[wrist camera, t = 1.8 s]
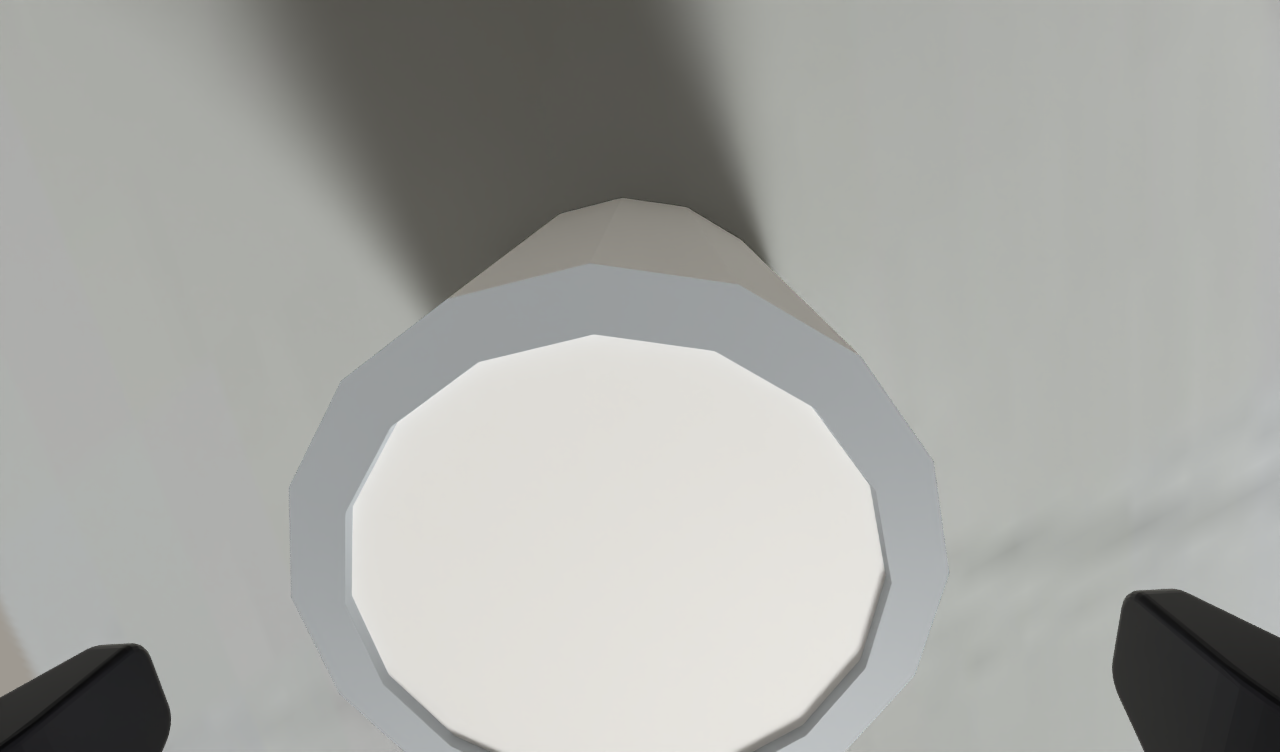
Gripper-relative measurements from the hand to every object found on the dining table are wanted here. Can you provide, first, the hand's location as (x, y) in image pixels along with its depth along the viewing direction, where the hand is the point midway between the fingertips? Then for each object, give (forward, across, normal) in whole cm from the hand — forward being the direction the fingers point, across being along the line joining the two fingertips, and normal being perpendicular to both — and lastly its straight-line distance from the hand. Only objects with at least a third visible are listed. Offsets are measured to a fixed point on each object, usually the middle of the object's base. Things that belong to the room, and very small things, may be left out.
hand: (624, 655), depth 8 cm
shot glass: (+8, 0, 0) cm, 8 cm away
